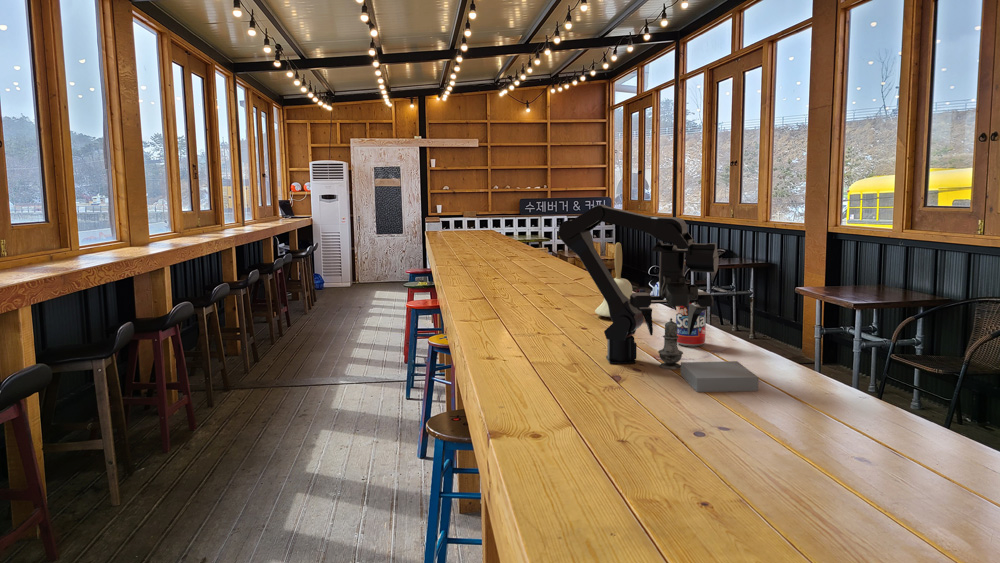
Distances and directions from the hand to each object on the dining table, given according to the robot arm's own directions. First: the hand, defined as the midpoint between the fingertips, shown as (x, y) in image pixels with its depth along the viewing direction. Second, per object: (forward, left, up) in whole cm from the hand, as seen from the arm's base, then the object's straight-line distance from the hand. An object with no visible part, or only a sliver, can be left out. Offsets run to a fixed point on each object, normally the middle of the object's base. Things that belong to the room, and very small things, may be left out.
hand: (670, 334), depth 162 cm
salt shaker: (0, 0, -8) cm, 8 cm away
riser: (+7, -14, -8) cm, 18 cm away
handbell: (-2, +62, -8) cm, 62 cm away
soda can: (+11, +22, -8) cm, 26 cm away
